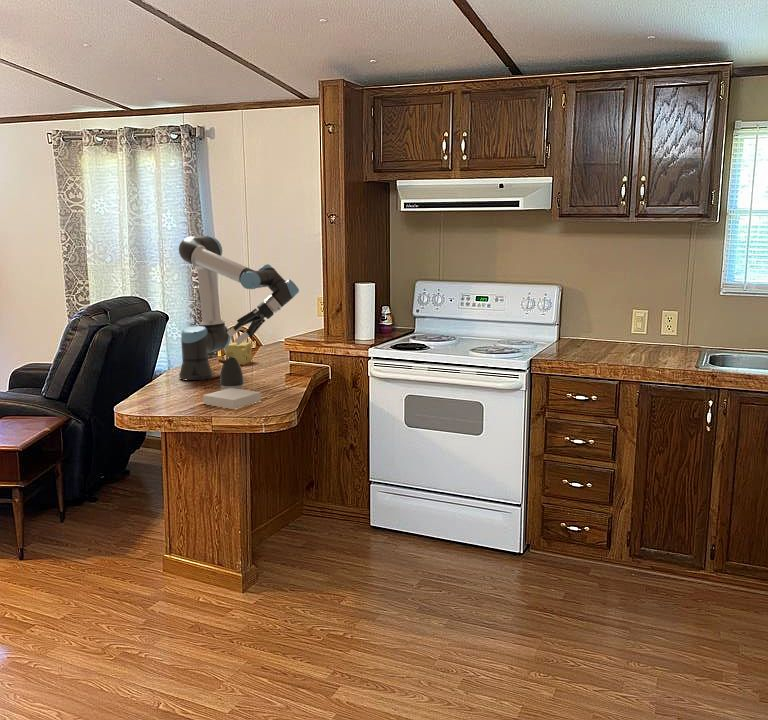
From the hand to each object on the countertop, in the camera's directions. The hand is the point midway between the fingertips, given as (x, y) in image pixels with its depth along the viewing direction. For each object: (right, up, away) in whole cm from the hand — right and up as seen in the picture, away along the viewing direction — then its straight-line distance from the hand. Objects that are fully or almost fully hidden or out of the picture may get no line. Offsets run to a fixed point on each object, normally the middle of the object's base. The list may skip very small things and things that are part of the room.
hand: (232, 339), depth 353 cm
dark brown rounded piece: (+2, -23, -11) cm, 26 cm away
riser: (+6, -27, -33) cm, 42 cm away
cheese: (-7, -11, +56) cm, 57 cm away
